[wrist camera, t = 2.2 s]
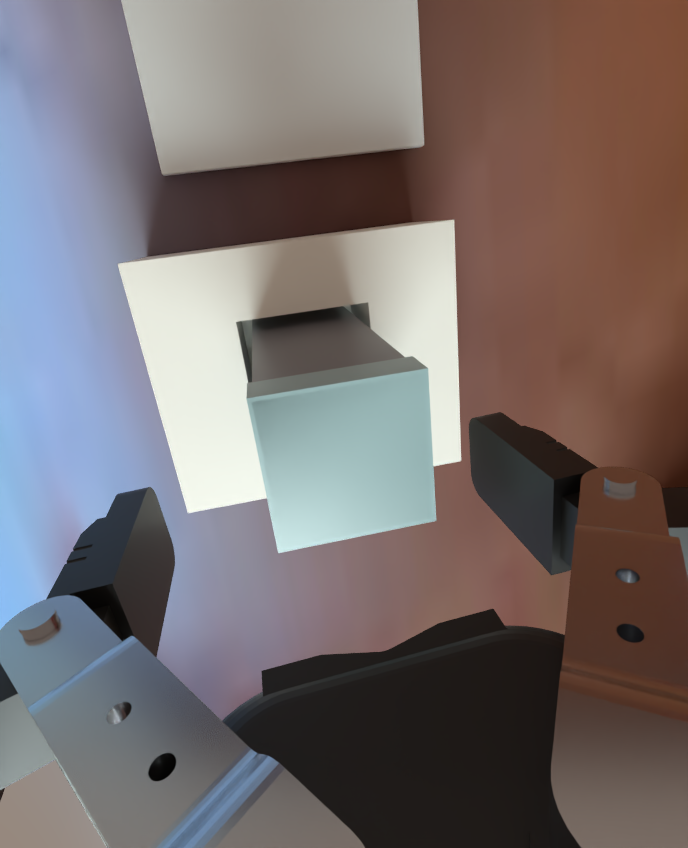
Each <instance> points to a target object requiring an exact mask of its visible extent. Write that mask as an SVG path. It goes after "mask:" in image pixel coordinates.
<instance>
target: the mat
mask: <svg viewBox="0 0 688 848" xmlns="http://www.w3.org/2000/svg"><path fill="white" fill-rule="evenodd" d="M121 2H122V6H123V10H124V14H125V19H126V23H127V27H128V31H129V36H130V40H131V44H132V49H133V53H134V57H135V61H136V66H137V70H138V74H139V79H140V83H141V87H142V91H143V96H144V100H145V104H146V109H147V113H148V117H149V121H150V126H151V130H152V134H153V139H154V143H155V147H156V151H157V156H158V160H159V164H160V169H161V173H162V175H164V176H169V175H178V174H187V173H196V172H205V171H214V170H222V169H231V168H240V167H249V166H258V165H267V164H276V163H285V162H294V161H303V160H311V159H320V158H329V157H338V156H347V155H356V154H365V153H374V152H383V151H392V150H400V149H409V148H418V147H422V146H424V128H423V107H422V86H421V65H420V44H419V23H418V2H417V0H121Z"/></svg>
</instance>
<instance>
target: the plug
mask: <svg viewBox="0 0 688 848" xmlns="http://www.w3.org/2000/svg"><path fill="white" fill-rule="evenodd" d="M246 399H247V404H248V409H249V413H250V418H251V423H252V428H253V433H254V438H255V442H256V447H257V452H258V457H259V462H260V467H261V471H262V476H263V481H264V486H265V491H266V496H267V501H268V505H269V510H270V515H271V520H272V525H273V530H274V534H275V539H276V544H277V549H278V553H281V552H286V551H291V550H296V549H301V548H305V547H310V546H315V545H320V544H325V543H330V542H335V541H340V540H345V539H350V538H354V537H359V536H364V535H369V534H374V533H379V532H384V531H389V530H394V529H398V528H403V527H408V526H413V525H418V524H423V523H428V522H433V521H436V507H435V488H434V469H433V451H432V432H431V413H430V394H429V375H428V368H427V367H426V366H425V365H423V364H422V363H421V362H419V361H418V360H417V359H416V358H414V357H413V356H410V357H404V356H403V355H402V354H401V353H399V352H398V351H397V350H396V349H394V348H393V347H392V346H391V345H390V344H388V343H387V342H386V341H385V340H384V339H382V338H381V337H380V336H379V335H378V334H376V333H375V332H374V331H373V330H371V329H370V328H369V327H368V326H367V325H365V324H364V323H363V322H362V321H361V320H359V319H358V318H357V317H356V316H355V315H353V314H352V313H351V312H350V311H348V310H347V309H346V308H345V307H344V306H340V307H333V308H326V309H320V310H313V311H306V312H299V313H293V314H286V315H279V316H272V317H266V318H259V319H252V382H251V383H247V397H246Z"/></svg>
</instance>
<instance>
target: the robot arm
mask: <svg viewBox="0 0 688 848" xmlns="http://www.w3.org/2000/svg"><path fill="white" fill-rule="evenodd" d="M469 440H470V460H471V476H472V481H473V484H474V487H475V489H476V491H477V493H478V495H479V496H480V497H481V498H482V499H483V500H484V501H485V503H486V504H487V505H488V506H489V507H490V508H491V509H492V510H493V511H494V513H495V514H496V515H497V516H498V517H499V518H500V519H501V520H502V521H503V522H504V524H505V525H506V526H507V527H508V528H509V529H510V530H511V531H512V532H513V533H514V535H515V536H516V537H517V538H518V539H519V540H520V541H521V542H522V543H523V544H524V546H525V547H526V548H527V549H528V550H529V551H530V552H531V553H532V554H533V556H534V557H535V558H536V559H537V560H538V561H539V562H540V563H541V564H542V565H543V567H544V568H545V569H546V570H547V571H548V572H549V573H550V574H551V575H554V574H558V573H562V572H566V571H569V570H571V577H570V587H569V597H568V608H567V618H566V629H565V635H563V634H560V633H557V632H553V631H549V630H545V629H540V628H534V627H527V626H504V624H503V623H502V621H501V620H500V618H499V617H498V615H497V614H496V612H495V611H494V609H490V610H487V611H483V612H479V613H475V614H472V615H468V616H464V617H461V618H457V619H453V620H449V621H446V622H442V623H439V624H437V625H435V626H433V627H431V628H429V629H427V630H425V631H423V632H422V633H420V634H418V635H416V636H414V637H412V638H410V639H408V640H407V641H405V642H403V643H401V644H399V645H397V646H395V647H393V648H391V649H389V650H387V651H383V652H369V653H349V654H330V655H319V656H315V657H312V658H308V659H304V660H301V661H297V662H293V663H289V664H286V665H282V666H278V667H275V668H271V669H267V670H263V671H262V687H263V692H261V693H260V694H258V695H256V696H254V697H252V698H251V699H249V700H248V701H246V702H245V703H243V704H242V705H240V706H239V707H238V708H237V709H235V710H234V711H233V712H232V713H230V714H229V715H228V716H227V717H226V718H225V719H224V720H223V721H222V720H220V719H219V718H218V717H217V716H216V715H215V714H214V713H213V712H212V711H211V710H210V709H209V708H208V707H207V706H206V705H205V704H204V703H203V702H202V701H201V700H200V699H199V698H198V697H197V696H196V695H195V694H194V693H192V692H191V691H190V690H189V689H188V688H187V687H186V686H185V685H184V684H183V683H182V682H181V681H180V680H179V679H178V678H177V677H176V676H175V675H174V674H173V673H172V672H171V671H170V670H169V669H168V668H167V667H166V666H164V665H163V664H162V663H161V662H160V661H159V660H158V659H157V658H156V656H157V651H158V646H159V641H160V636H161V631H162V626H163V621H164V617H165V612H166V607H167V602H168V597H169V592H170V587H171V582H172V577H173V572H174V566H175V556H174V549H173V544H172V541H171V538H170V535H169V532H168V529H167V526H166V523H165V520H164V517H163V514H162V511H161V508H160V505H159V502H158V499H157V496H156V494H155V492H154V490H153V489H152V488H151V487H148V488H143V489H139V490H134V491H129V492H125V493H120V494H117V495H116V497H115V499H114V501H113V503H112V505H111V507H110V510H109V512H108V514H107V516H106V517H105V518H101V519H97V520H96V521H95V522H94V523H93V524H92V525H90V526H89V527H88V528H87V529H86V530H85V531H84V532H83V533H82V534H81V535H80V537H79V539H78V541H77V543H76V545H75V546H74V548H73V550H74V551H73V552H71V554H70V556H69V558H68V560H67V564H65V565H64V567H63V569H62V571H61V573H60V575H59V576H58V578H57V580H56V582H55V584H54V586H53V588H52V589H51V591H50V593H49V595H48V597H47V599H46V600H43V601H41V602H38V603H36V604H34V605H32V606H30V607H28V608H27V609H25V610H23V611H22V612H20V613H19V614H17V615H16V616H15V617H13V618H12V619H11V620H10V621H9V622H8V623H7V624H6V625H5V626H4V627H3V628H2V629H1V630H0V800H1V798H2V795H3V792H4V789H5V787H7V786H8V785H11V784H12V783H14V782H16V781H18V780H20V779H21V778H23V777H25V776H27V775H28V774H30V773H32V772H34V771H36V770H38V769H40V768H41V767H43V766H45V765H47V764H49V763H50V762H52V761H54V760H56V761H57V763H58V765H59V767H60V768H61V770H62V772H63V774H64V775H65V777H66V779H67V781H68V782H69V784H70V786H71V787H72V789H73V790H74V793H75V794H76V796H77V798H78V799H79V801H80V803H81V805H82V806H83V808H84V810H85V811H86V813H87V815H88V817H89V818H90V820H91V822H92V823H93V825H94V827H95V829H96V830H97V832H98V834H99V835H100V837H101V839H102V841H103V842H104V844H105V846H106V848H688V487H678V488H661V485H660V483H659V482H658V481H657V480H656V479H655V478H653V477H652V476H650V475H648V474H646V473H644V472H641V471H638V470H634V469H630V468H624V467H601V468H598V467H596V466H595V465H593V464H592V463H590V462H589V461H587V460H586V459H584V458H582V457H581V456H579V455H578V454H576V453H575V452H573V451H572V450H570V449H567V447H566V446H564V445H563V444H561V443H560V442H556V440H555V439H554V438H552V437H550V436H549V435H547V434H546V433H544V432H543V431H540V430H536V429H533V428H530V427H527V426H520V425H519V424H517V423H516V422H515V421H513V420H512V419H510V418H509V417H507V416H506V415H504V414H503V413H501V412H499V413H494V414H489V415H485V416H480V417H476V418H472V419H471V420H470V423H469Z"/></svg>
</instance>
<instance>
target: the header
mask: <svg viewBox="0 0 688 848" xmlns="http://www.w3.org/2000/svg"><path fill="white" fill-rule="evenodd" d="M118 267H119V270H120V274H121V277H122V281H123V284H124V288H125V292H126V295H127V299H128V302H129V306H130V309H131V313H132V316H133V320H134V323H135V327H136V330H137V334H138V338H139V341H140V345H141V348H142V352H143V355H144V359H145V362H146V366H147V369H148V373H149V377H150V380H151V384H152V387H153V391H154V394H155V398H156V401H157V405H158V408H159V412H160V415H161V419H162V423H163V426H164V430H165V433H166V437H167V440H168V444H169V447H170V451H171V454H172V458H173V462H174V465H175V469H176V472H177V476H178V479H179V483H180V486H181V490H182V493H183V497H184V500H185V504H186V508H187V511H188V513H191V512H197V511H202V510H207V509H212V508H218V507H223V506H228V505H233V504H239V503H244V502H249V501H254V500H260V499H265V498H267V496H266V491H265V486H264V481H263V476H262V471H261V467H260V462H259V457H258V452H257V447H256V442H255V438H254V433H253V428H252V423H251V418H250V413H249V409H248V404H247V399H246V397H247V383H251V382H252V319H259V318H266V317H272V316H279V315H286V314H293V313H299V312H306V311H313V310H320V309H326V308H333V307H340V306H344V307H345V308H346V309H347V310H348V311H350V312H351V313H352V314H353V315H355V316H356V317H357V318H358V319H359V320H361V321H362V322H363V323H364V324H365V325H367V326H368V327H369V328H370V329H371V330H373V331H374V332H375V333H376V334H378V335H379V336H380V337H381V338H382V339H384V340H385V341H386V342H387V343H388V344H390V345H391V346H392V347H393V348H394V349H396V350H397V351H398V352H399V353H401V354H402V355H403V356H404V357H410V356H413V357H414V358H416V359H417V360H418V361H419V362H421V363H422V364H423V365H425V366H426V367H427V368H428V375H429V394H430V413H431V432H432V451H433V466H438V465H443V464H448V463H453V462H459V461H461V442H460V407H459V372H458V337H457V302H456V267H455V232H454V220H442V221H424V222H410V223H403V224H395V225H387V226H380V227H372V228H364V229H357V230H349V231H341V232H334V233H326V234H318V235H311V236H303V237H295V238H288V239H280V240H272V241H265V242H257V243H249V244H242V245H234V246H226V247H219V248H211V249H203V250H196V251H188V252H180V253H173V254H165V255H157V256H150V257H144V258H140V259H136V260H132V261H128V262H124V263H119V264H118Z"/></svg>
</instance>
